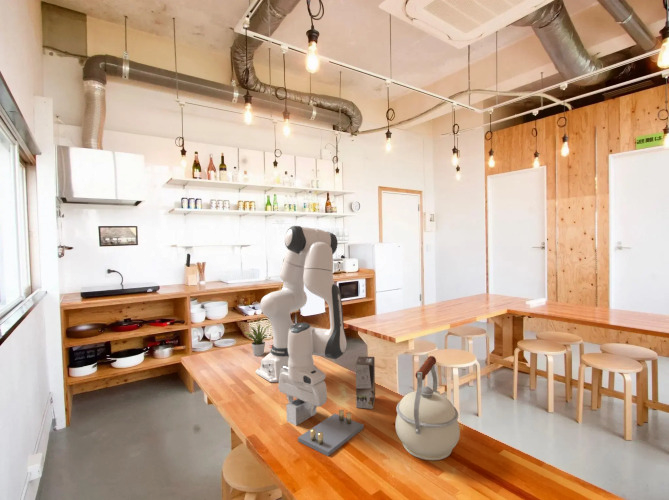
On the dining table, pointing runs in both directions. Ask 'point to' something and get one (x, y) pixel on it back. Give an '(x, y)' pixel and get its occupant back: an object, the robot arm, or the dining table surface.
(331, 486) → the dining table surface
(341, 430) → the pin tray
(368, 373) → the coffee box
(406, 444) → the kettle
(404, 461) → the dining table surface
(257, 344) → the house plant
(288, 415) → the block
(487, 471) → the dining table surface
